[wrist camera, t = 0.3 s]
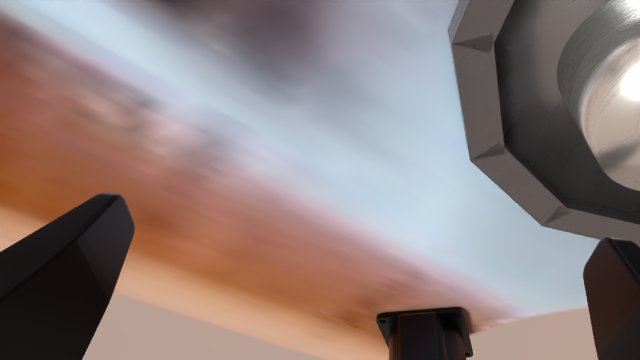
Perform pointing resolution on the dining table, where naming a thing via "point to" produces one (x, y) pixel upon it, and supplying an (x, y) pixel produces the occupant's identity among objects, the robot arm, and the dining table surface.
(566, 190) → the curvy grey metal tray
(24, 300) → the robot arm
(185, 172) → the dining table surface
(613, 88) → the cover
